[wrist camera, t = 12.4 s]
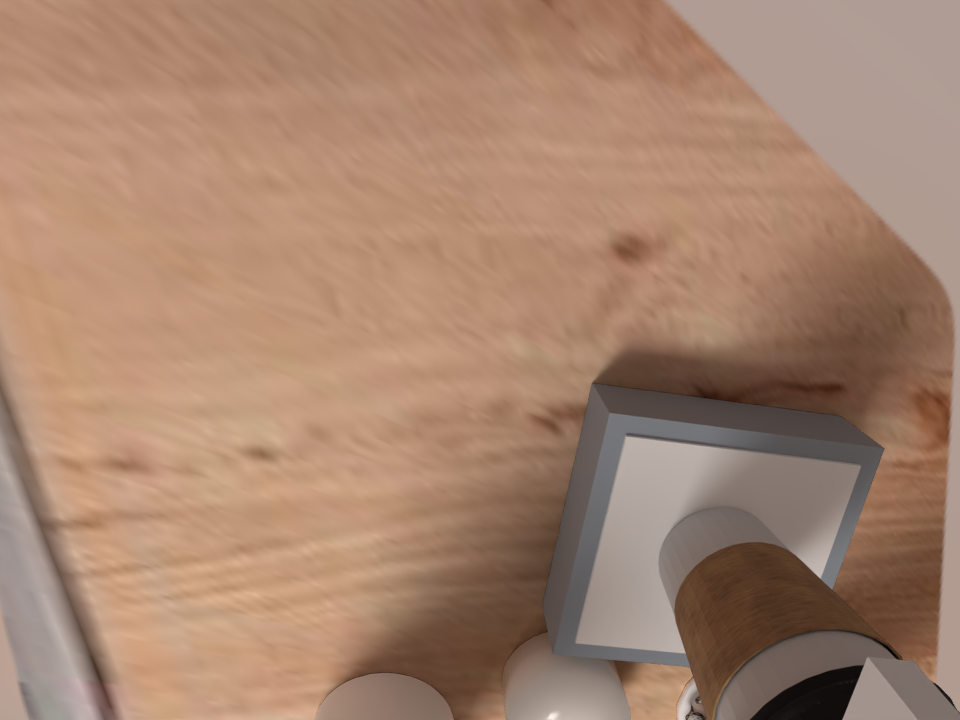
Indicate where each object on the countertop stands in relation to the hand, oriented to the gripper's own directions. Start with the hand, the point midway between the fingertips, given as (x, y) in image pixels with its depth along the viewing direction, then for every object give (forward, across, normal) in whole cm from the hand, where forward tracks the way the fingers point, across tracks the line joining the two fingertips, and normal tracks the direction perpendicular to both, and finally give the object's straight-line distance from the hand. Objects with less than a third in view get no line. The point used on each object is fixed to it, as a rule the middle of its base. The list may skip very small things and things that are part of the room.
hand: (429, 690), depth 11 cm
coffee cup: (+23, +16, -11) cm, 30 cm away
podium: (+27, +16, -11) cm, 33 cm away
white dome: (+27, +11, -23) cm, 37 cm away
